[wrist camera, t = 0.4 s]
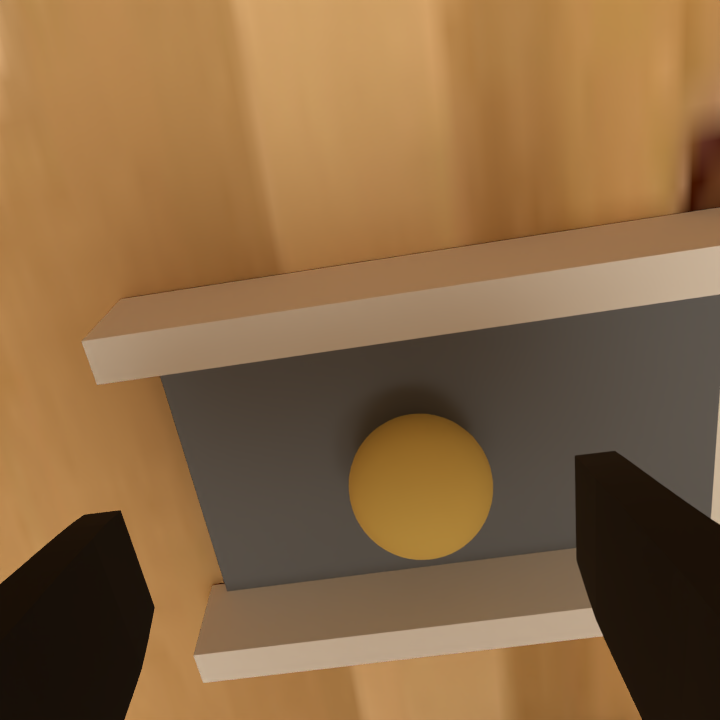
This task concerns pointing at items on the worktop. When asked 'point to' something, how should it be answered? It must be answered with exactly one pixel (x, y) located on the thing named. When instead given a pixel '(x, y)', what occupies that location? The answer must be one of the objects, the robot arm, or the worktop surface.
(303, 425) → the lane
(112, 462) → the worktop surface
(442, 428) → the ball
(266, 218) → the worktop surface
